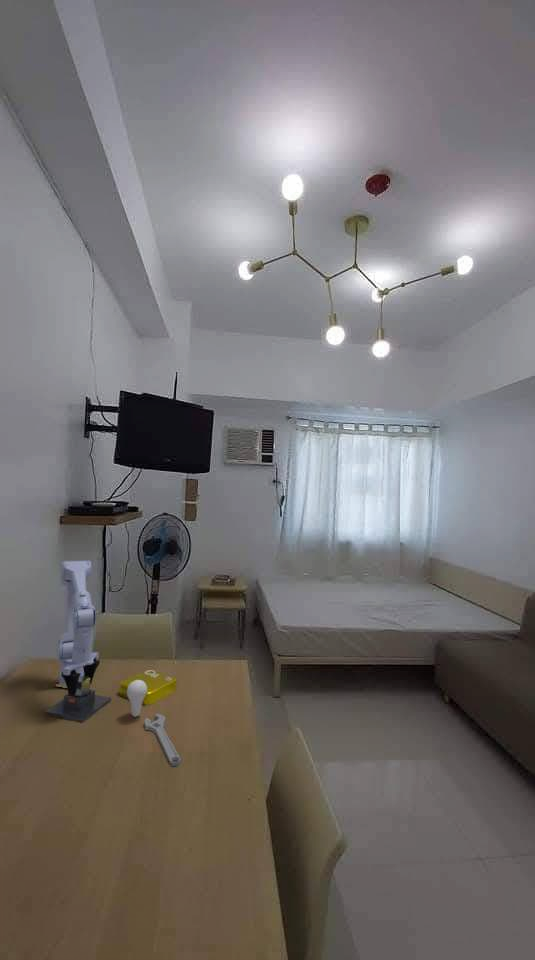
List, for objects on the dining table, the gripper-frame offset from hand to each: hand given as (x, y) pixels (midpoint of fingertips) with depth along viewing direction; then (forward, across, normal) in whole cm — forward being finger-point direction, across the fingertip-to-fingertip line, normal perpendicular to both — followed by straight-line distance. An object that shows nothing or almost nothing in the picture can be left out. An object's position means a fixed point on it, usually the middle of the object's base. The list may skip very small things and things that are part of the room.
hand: (80, 688), depth 134 cm
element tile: (+7, +17, -15) cm, 24 cm away
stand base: (+6, 0, 0) cm, 6 cm away
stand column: (+5, 0, 0) cm, 5 cm away
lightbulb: (+6, +1, -20) cm, 21 cm away
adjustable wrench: (+6, -8, -34) cm, 35 cm away
